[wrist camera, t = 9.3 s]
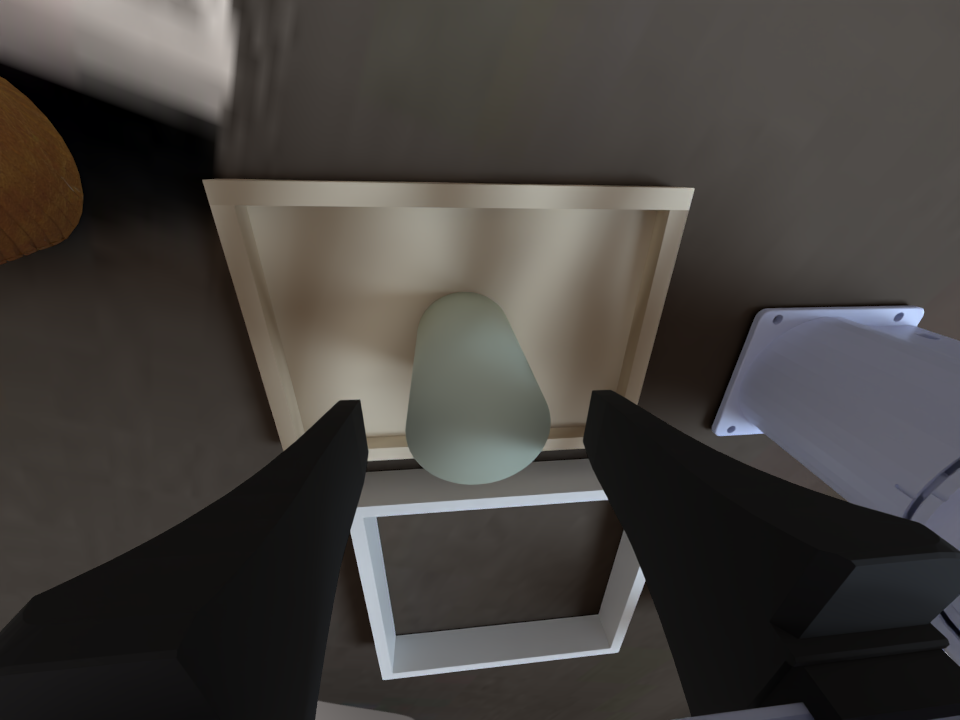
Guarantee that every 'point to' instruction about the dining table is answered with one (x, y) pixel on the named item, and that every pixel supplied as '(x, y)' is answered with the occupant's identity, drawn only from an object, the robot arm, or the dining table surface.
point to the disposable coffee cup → (33, 179)
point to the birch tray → (444, 287)
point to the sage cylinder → (473, 394)
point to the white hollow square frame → (496, 642)
